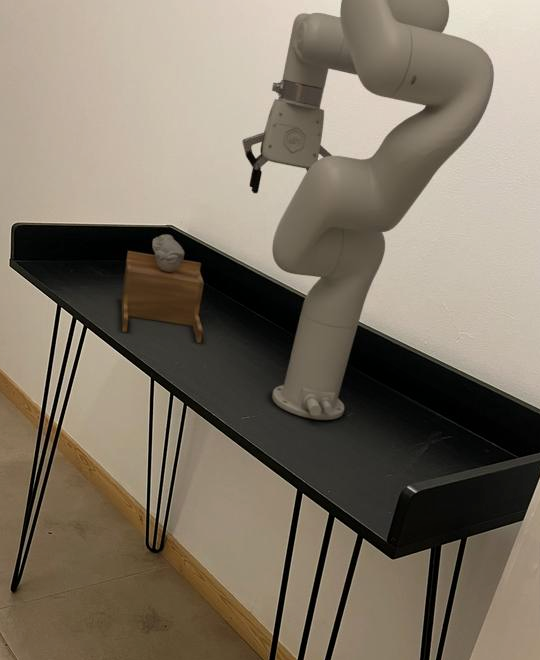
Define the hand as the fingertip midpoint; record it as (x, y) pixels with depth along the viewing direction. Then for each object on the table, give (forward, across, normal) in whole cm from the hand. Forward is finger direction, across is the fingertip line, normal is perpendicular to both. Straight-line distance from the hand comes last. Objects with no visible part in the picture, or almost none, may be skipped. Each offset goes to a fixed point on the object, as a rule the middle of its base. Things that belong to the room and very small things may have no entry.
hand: (279, 196), depth 156 cm
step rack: (+28, -18, +5) cm, 34 cm away
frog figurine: (+20, -18, +10) cm, 28 cm away
